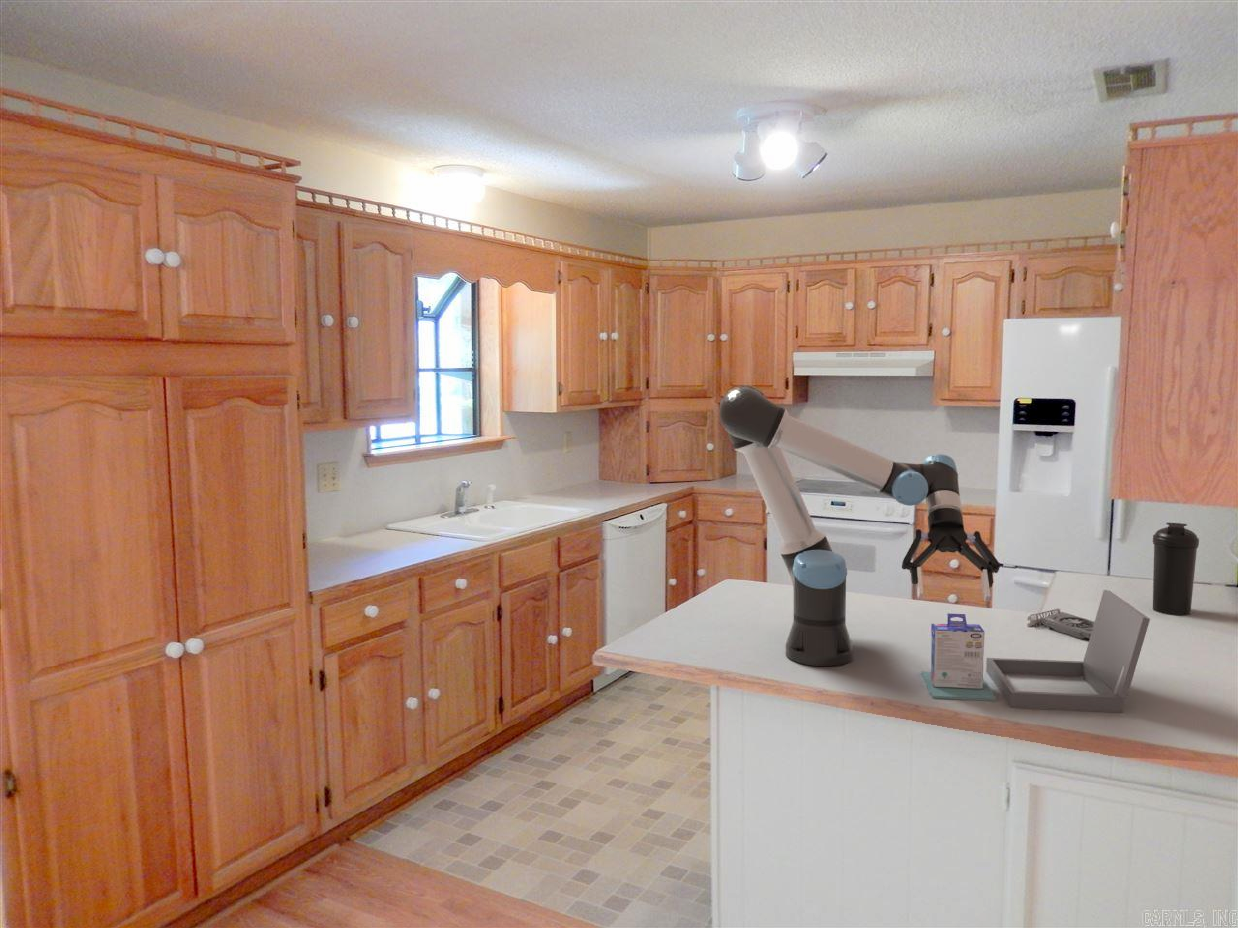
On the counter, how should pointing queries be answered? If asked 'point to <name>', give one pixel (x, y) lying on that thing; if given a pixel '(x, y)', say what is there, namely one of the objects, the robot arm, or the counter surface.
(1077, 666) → the equipment case
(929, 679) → the teal mat
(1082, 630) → the graphics card
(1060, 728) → the counter surface
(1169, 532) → the water bottle
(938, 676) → the ink cartridge box
